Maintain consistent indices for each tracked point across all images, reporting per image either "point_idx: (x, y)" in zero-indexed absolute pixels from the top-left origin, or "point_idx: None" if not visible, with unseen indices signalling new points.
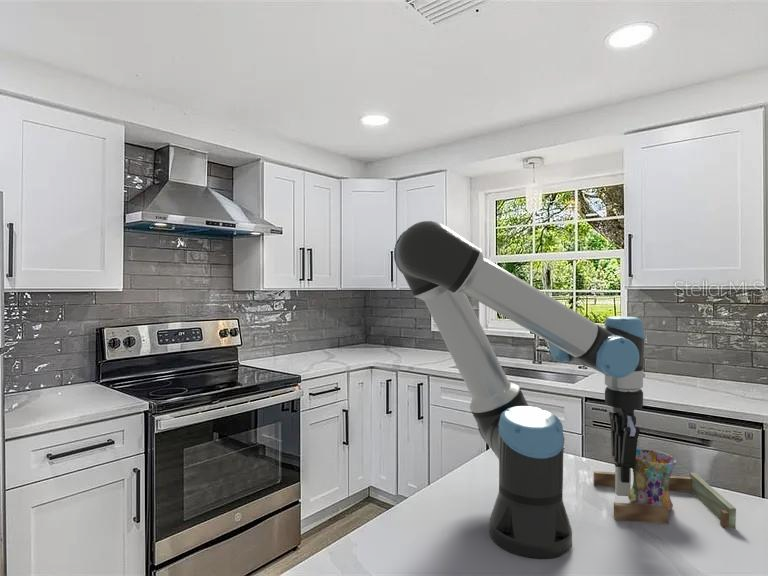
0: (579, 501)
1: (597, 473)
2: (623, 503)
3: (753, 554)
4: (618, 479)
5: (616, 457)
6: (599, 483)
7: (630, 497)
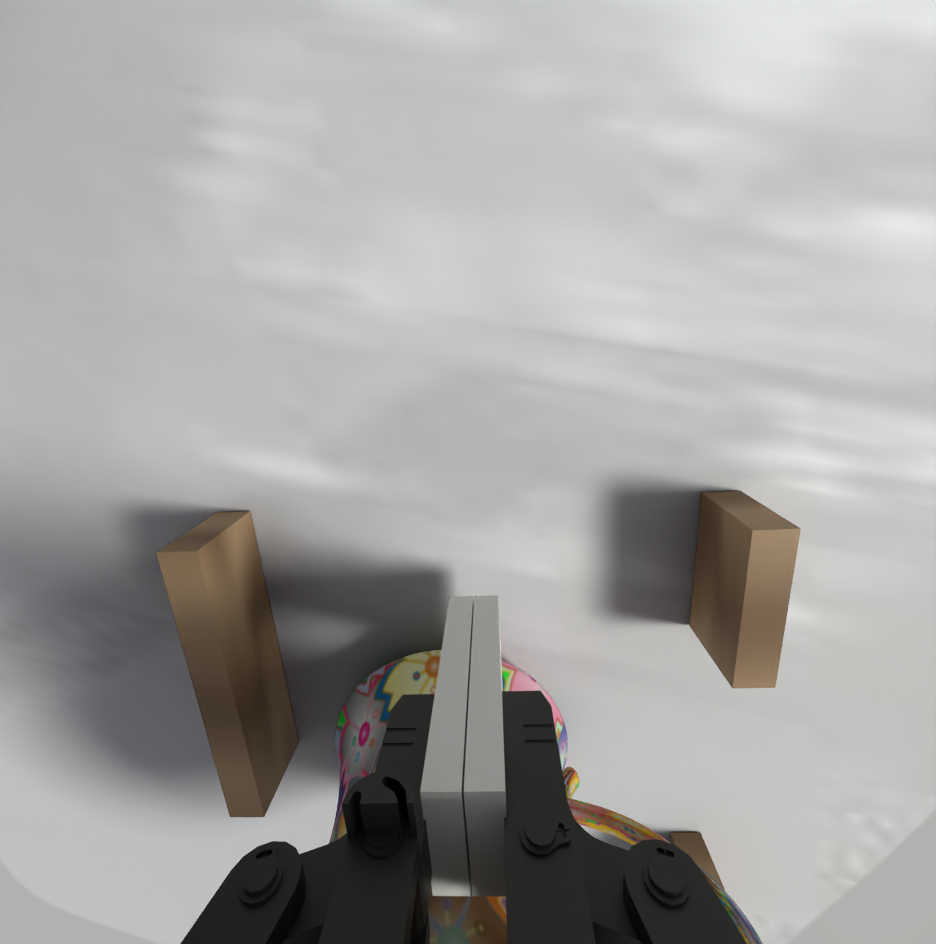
0: (412, 336)
1: (749, 548)
2: (204, 607)
3: (127, 917)
4: (436, 685)
5: (508, 886)
6: (706, 529)
7: (430, 665)
